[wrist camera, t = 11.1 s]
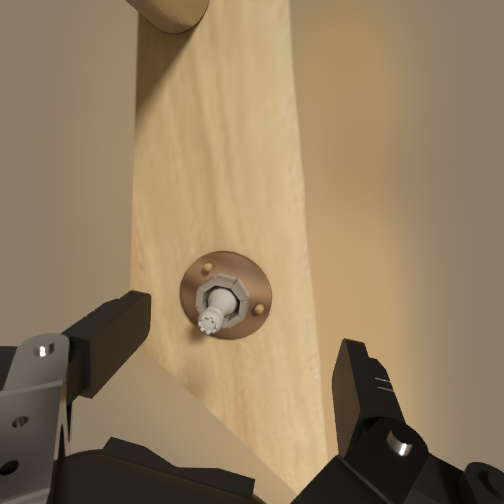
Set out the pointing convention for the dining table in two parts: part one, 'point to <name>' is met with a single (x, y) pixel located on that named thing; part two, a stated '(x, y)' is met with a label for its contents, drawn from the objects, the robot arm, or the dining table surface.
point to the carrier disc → (230, 276)
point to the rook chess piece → (217, 309)
